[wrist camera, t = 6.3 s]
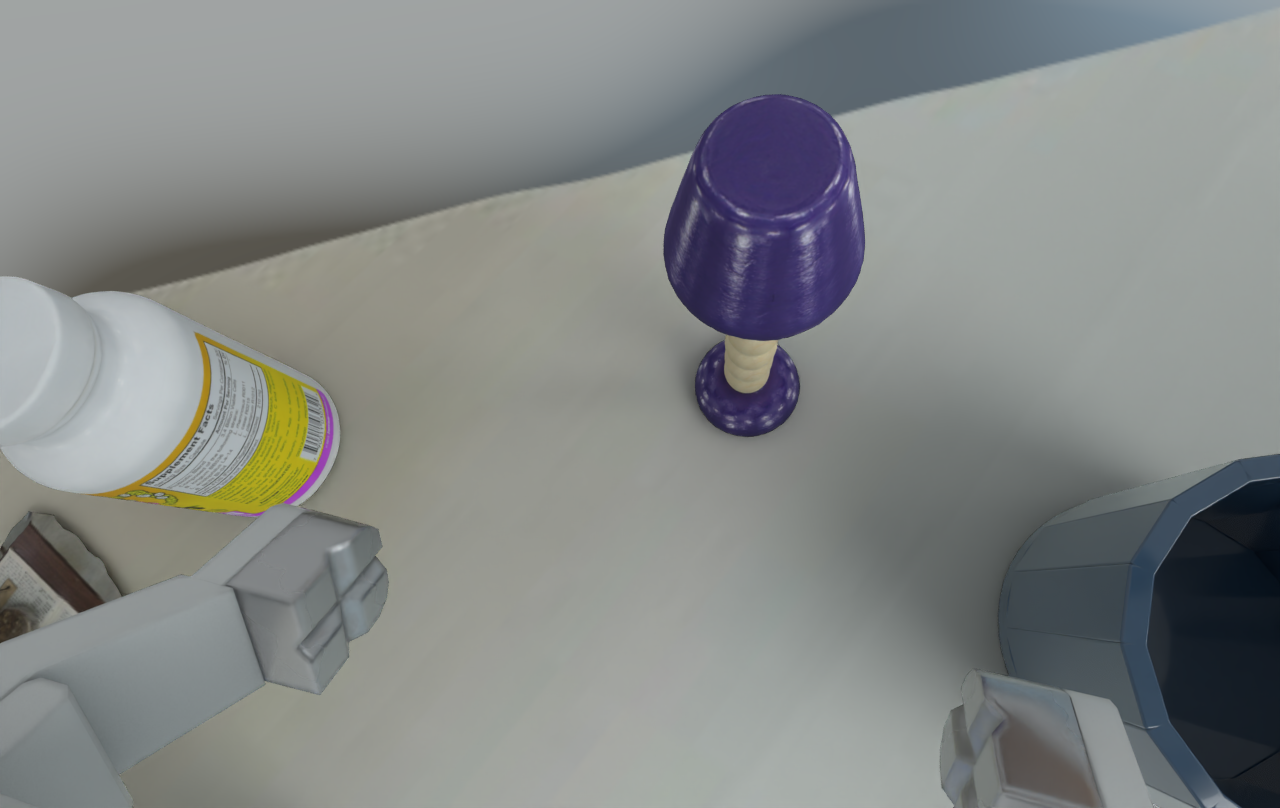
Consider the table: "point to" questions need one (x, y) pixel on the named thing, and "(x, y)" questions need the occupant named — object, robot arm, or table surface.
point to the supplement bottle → (154, 406)
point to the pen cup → (1166, 626)
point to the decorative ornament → (47, 576)
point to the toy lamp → (763, 249)
